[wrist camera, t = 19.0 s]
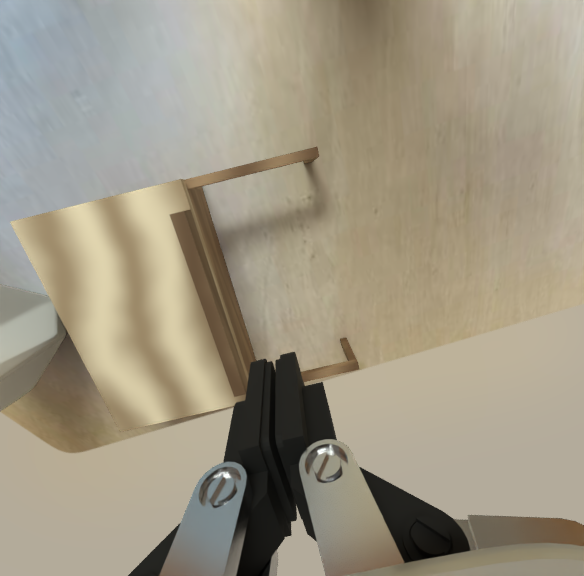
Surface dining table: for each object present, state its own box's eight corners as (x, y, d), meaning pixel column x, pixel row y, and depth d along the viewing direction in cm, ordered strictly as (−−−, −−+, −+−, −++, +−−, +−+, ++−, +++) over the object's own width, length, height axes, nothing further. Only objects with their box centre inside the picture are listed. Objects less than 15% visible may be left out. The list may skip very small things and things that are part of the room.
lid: (184, 179, 26) (172, 178, 23) (254, 395, 33) (252, 414, 31) (19, 220, 27) (-12, 224, 24) (124, 425, 34) (110, 446, 31)
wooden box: (309, 154, 32) (317, 146, 26) (347, 342, 39) (359, 369, 33) (65, 215, 33) (21, 220, 27) (146, 389, 40) (124, 423, 34)
